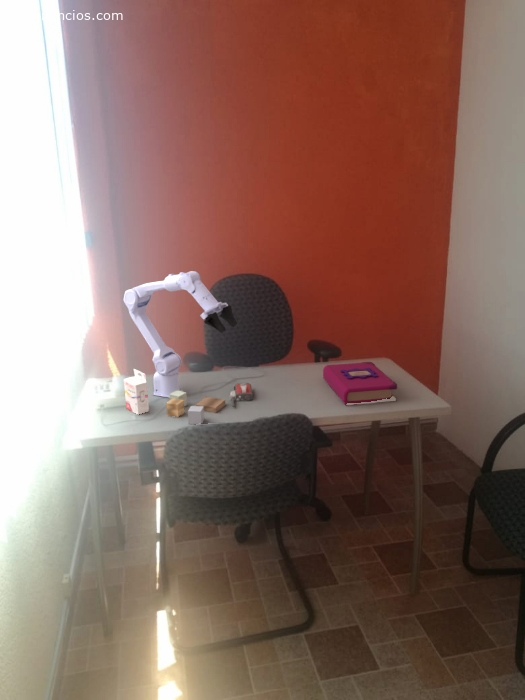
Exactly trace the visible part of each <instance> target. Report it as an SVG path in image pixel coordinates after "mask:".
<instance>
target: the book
mask: <svg viewBox="0 0 525 700" xmlns="http://www.w3.org/2000/svg"><path fill="white" fill-rule="evenodd" d="M322 376H323V377H322V378H323V380H325V382H326V383H327V384H328V385H329V387H330V388H331V389H332V390H333V392H334V391H335V392H334V393H335V394H336V395H337V396H338V398H339V397H340V398H339V399H340V400H341V401H342V402H343V404H344V405H345V404H347V403H361V402H371V401H377V400H382V399H386V398H387V399H390V398H391V397H392V395H393V394H392V390H397V389H398V383H397V382H395V381H393V379H391V378H390V377H389V376H387V374H385V373H384V372H383V371H382V370H381V369H380V368H379V367H377V366H376V364H375V363H374V362H372V361H362V362H353V363H352V362H351V363H338V364H337V363H335V364H327V365H325V366H324V367H323V369H322ZM391 394H392V395H391Z"/></svg>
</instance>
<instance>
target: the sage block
mask: <svg viewBox="0 0 525 700" xmlns="http://www.w3.org/2000/svg"><path fill="white" fill-rule="evenodd" d="M187 396H188V395H187V392H186V391H184V392H182V391H178V390H177V391H175V392H173V393H171V394H169V397H168V398H169V401H170V400H171V399H173V398H174V399H180V400H184V407H186V406H188V397H187Z"/></svg>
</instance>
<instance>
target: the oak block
mask: <svg viewBox="0 0 525 700" xmlns="http://www.w3.org/2000/svg"><path fill="white" fill-rule="evenodd" d="M184 412H185V406H184V400H180V399H174V398H173V399H171V400H170V399H169V401H167V402H166V415H168V416H167V417H172V416H175V417H174V418H180V417H181V416H182V415H184V414H185V413H184ZM180 415H181V416H180ZM179 416H180V417H179Z"/></svg>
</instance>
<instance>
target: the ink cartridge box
mask: <svg viewBox="0 0 525 700" xmlns="http://www.w3.org/2000/svg"><path fill="white" fill-rule="evenodd" d="M133 373H134V376H131V377H127V378H126V377H125V378H124V379H123V384H124V385H123V387H124V394H125V395H124V398H125V408H126V410H128V411H131V412H132V413H134V414H135V413H136V415H137V414H138V416H140V415H142V413H143V414H145V412H146V413H147V412H150V406H149V403H150V402H149V393H148V382H147V376H146V373H144V372H142V371H140V370H138V369H135V368H133ZM139 414H140V415H139Z"/></svg>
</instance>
